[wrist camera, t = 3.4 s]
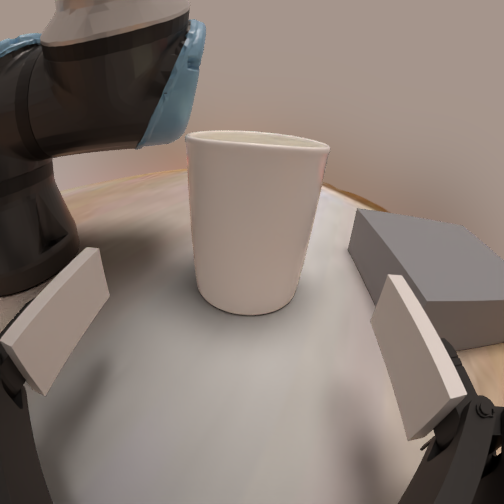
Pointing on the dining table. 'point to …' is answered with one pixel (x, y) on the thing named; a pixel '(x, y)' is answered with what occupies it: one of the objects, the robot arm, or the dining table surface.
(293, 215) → the candle holder
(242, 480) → the dining table surface
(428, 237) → the riser block
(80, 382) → the dining table surface
